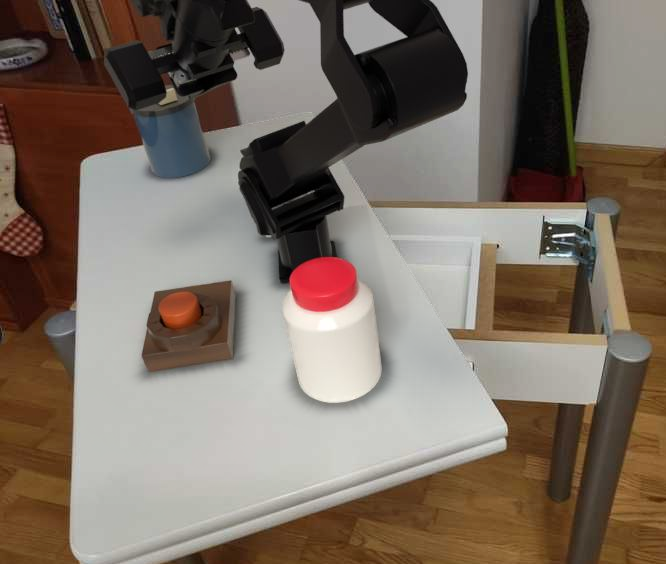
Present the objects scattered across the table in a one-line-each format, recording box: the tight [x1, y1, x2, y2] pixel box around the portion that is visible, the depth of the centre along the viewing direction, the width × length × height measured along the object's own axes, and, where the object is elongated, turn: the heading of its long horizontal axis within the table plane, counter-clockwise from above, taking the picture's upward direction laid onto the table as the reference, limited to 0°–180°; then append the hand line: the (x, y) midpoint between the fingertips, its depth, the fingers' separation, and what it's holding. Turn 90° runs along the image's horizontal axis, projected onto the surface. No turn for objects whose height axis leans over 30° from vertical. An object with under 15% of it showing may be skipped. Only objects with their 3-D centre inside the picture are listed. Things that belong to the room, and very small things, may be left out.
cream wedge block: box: [158, 88, 177, 105], centre depth 87 cm, size 3×2×2 cm
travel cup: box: [126, 84, 211, 179], centre depth 92 cm, size 9×9×10 cm
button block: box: [141, 280, 237, 373], centre depth 65 cm, size 10×8×4 cm
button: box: [158, 292, 202, 329], centre depth 62 cm, size 4×4×2 cm
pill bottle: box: [281, 257, 383, 404], centre depth 57 cm, size 8×8×11 cm
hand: (190, 95), depth 79 cm, fingers closed
